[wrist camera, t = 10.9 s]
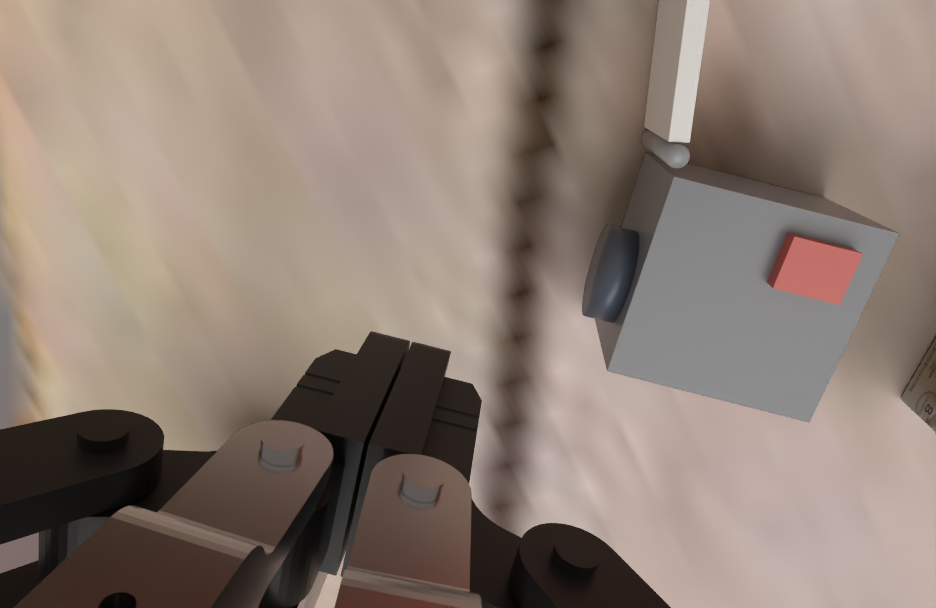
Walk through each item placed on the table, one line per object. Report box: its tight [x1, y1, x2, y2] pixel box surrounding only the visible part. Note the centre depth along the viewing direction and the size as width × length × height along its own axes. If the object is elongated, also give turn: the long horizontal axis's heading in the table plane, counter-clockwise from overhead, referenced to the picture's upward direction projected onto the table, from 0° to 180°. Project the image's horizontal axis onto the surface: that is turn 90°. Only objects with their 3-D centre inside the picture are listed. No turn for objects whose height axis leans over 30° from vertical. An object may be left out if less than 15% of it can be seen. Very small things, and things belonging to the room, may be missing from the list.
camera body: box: [582, 153, 899, 422], centre depth 34 cm, size 10×11×9 cm
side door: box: [642, 0, 710, 168], centre depth 31 cm, size 2×13×7 cm, turn 178°
